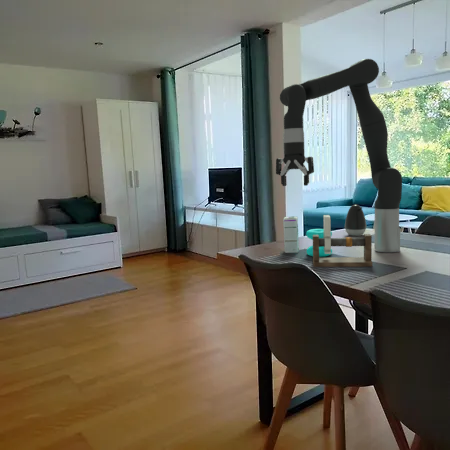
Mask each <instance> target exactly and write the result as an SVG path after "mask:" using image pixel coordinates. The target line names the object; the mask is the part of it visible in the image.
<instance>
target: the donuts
mask: <svg viewBox="0 0 450 450" xmlns="http://www.w3.org/2000/svg"><path fill="white" fill-rule="evenodd" d="M305 233H306V234H305V235H306V237H307V238H308V239H310V240H312V241H313V235H319V238H324V228H312V229H309V230H308V229H307V231H306V232H305ZM332 236H333V232H332V231H331V237H332ZM306 254H307V255H308V256H310V257H313V245H310V246H309V247H308V248H306ZM332 254H333V249H332V248H331V254H325V252H324V247H319V258H326V257H330V256H331V255H332Z"/></svg>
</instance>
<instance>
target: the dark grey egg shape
mask: <svg viewBox="0 0 450 450" xmlns="http://www.w3.org/2000/svg"><path fill="white" fill-rule="evenodd" d="M344 229H345V232H346V233H347V235H349V236H350V237H360V236H362V235H363V236H364V234H365V233H366V229H367V220H366V217H365V213H364V211H363V207H362V206H360V205H359V204H353V205H350V207H349V209H348V211H347V213H346V218H345V223H344Z"/></svg>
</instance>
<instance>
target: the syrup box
mask: <svg viewBox="0 0 450 450" xmlns="http://www.w3.org/2000/svg"><path fill="white" fill-rule="evenodd" d="M282 220H283V221H282V222H283V223H282V224H283V247H284V249H283V251H284V253H287V254H298V253H299V250H300V248H299V247H300V245H299V244H300V243H299V222H298V221H299V217H298V216H284V217H283V219H282Z"/></svg>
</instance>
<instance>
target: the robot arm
mask: <svg viewBox="0 0 450 450" xmlns="http://www.w3.org/2000/svg"><path fill="white" fill-rule="evenodd" d="M379 74H380V68H379V65H378V63H377V61H376V60H374V59H372V58H363V59H360V60H358V61H357V62H355V63H353V64H351V65H350V66H349V67H346V68H344V69H341V70H338V71H335V72H331V73H328V74H324V75H321V76H317V77H315V78H311V79H308V80H307V81H304V82H301V83H294V84H291V85H289V86H286V87H284V88H283V89H282V91H280V94H279V101H280V103H281V104H282V106H285V107H287V112H286V113H285V114H284V116H283V139H282V140H283V158H280V157H279V158H276V159H275V174H276V175H278V176H280V184H281V185H282V186H283V187H286V186H287V183H288V182H287V173H288V172H290V170H299V171H301V172H302V174H303V186H308V185H309V183H310V175H312V174H313V173H315V165H314V157H313V156H307V157H306V156H305V132H304V113H305V109H306V102H307V101H310V100H315V99H318V98H320V97H324V96H327V95H330V94H332V93H334V92H336V91H338V90H341V89H345V88H347V87H349V88H348V89H349V90H350V93H351V95H352V99H353V102H354V105H355V108H356V112H357V116H358V121H359V125H360V130H361V134H362V137H363V140H364V144H365V149H366V153H367V155H368V159H369V164H370V173H371V175H370V176H371V180H372V185H373V186H374V187H375V188H376V189H377V198H376V200H375V201H374V251H375V252H379V253H397V252H401V227H400V203H401V201H402V196H403V195H402V194H403V193H402V191H403V177H402V174H401V171H399V170H398V169H397V168H394V167H391V163H390V160H389V157H388V141H389V140H388V137H389V134H388V132H389V131H388V127H387V124H386V118H385V115H384V114H383V111H381V110H380V108H379V106H378V105H377V104H376V103H375V102H374V100H373V99H372V97H371V94H370V90H369V84H371V83H373V82H374V81H375V80H377V77H379ZM305 162H306V164H307V167H306V165H305ZM283 163H284V164H285V165H284V166H282V165H283Z"/></svg>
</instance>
